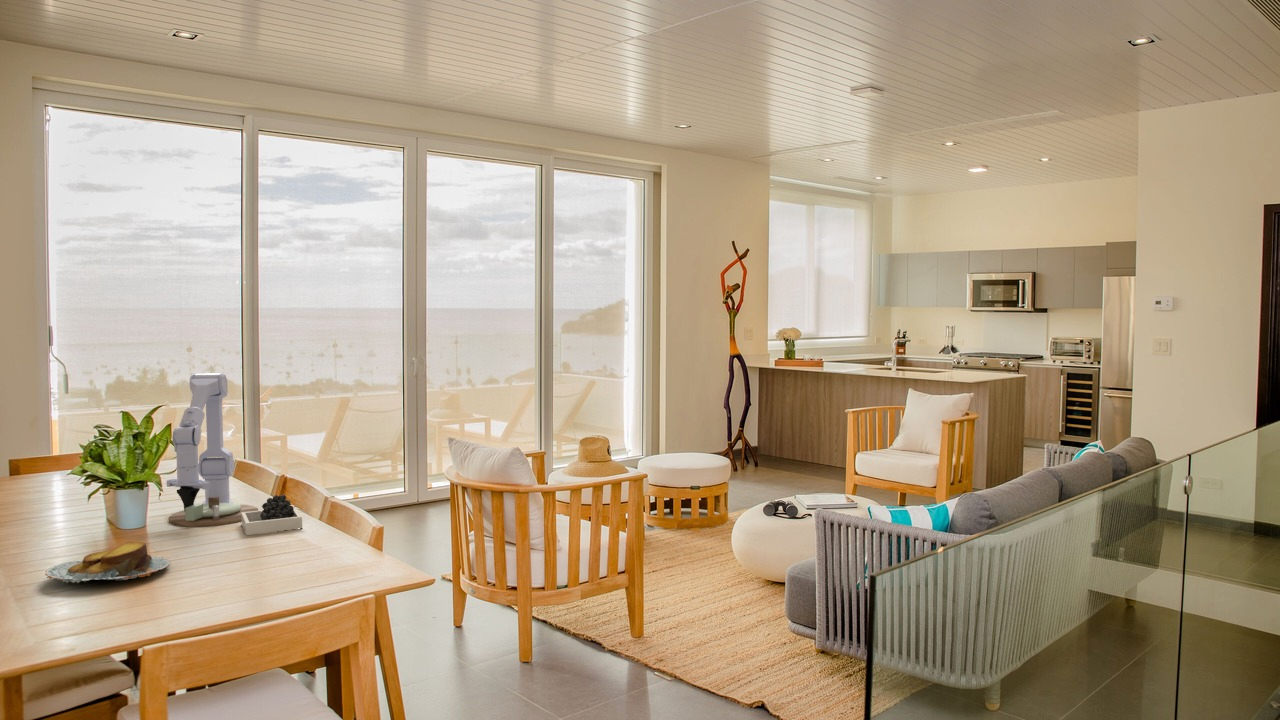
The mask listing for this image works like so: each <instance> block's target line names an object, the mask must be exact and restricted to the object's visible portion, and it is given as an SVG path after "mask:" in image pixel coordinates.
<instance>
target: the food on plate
mask: <svg viewBox="0 0 1280 720" xmlns="http://www.w3.org/2000/svg"><path fill="white" fill-rule="evenodd" d="M170 565H171V561H170V560H169V559H167V558H164V557H158V556H153V555H152V556H151V555H150V554H148V549H147V543H145V542H143V541H127V542H125V543H122V544H121V545H119V546H117V547H116V548H114V549H112V550H103V551H97V552H93V553H89V554H87V555H85V556H84V557H83V559H81V560H76V559H75V560H72V561H65V562H62V563H59V564H55V565H53V566H50V567H49V568H48V569H46V570H45V574H44V575H45V576H47V577H46V578H47V579H48V578H49V579H53V580H55V579H56V580H59V581H62V582H63V583H65V582H66V584H68V583H73V584H74V583H77V584H79V583H80V582H84V583H86V582H87V581H90V580H95V581H97V580H98V581H99V580H106V581H109V580H111V581H113V580H114V581H117V582H118V581H126V580H129V579H131V580H132V579H137V578H143V577H146V576H147V577H150V576H151V574H152V573H157V572H158V571H161V570H164V569H165V568H167V567H169V566H170ZM149 568H150V569H151V570H150V571H148V569H149Z"/></svg>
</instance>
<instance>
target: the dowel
mask: <svg viewBox="0 0 1280 720" xmlns="http://www.w3.org/2000/svg"><path fill="white" fill-rule="evenodd" d="M212 509H213V521H217V520H220V518H219V505H216V506H212Z"/></svg>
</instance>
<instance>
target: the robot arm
mask: <svg viewBox="0 0 1280 720" xmlns="http://www.w3.org/2000/svg"><path fill="white" fill-rule="evenodd" d="M189 390H191V391H190V392H191V395H192V396H191V401H190V405H189V407H187V408H186V409H185V410H184V412H183V414H182V417H181V418H180V423H179V425H178V426H177V427H176V428H174V429H173V431H172V438H171V439H172V443H173V447H174V449H173V450H174V452H175V453H176V454H175V455H176V475H177V477H176V479H175V478H171V479H167V480H166V487H169V488H170V487H175V488H176V487H177V488H178V489H176V494H177V495H178V496H179V498H180V499H181V501H182V504H183V510H184V511H185V508H186V507H189V506H192V505H195V500H196V497H197V495H198V493H199V492H200V490H201V489H202V490H204V497H205V498H204V500H203V502H202V503H203V505H204V504H209V503H208V498H209V497H215V496H217V497H219V503H232V500H231V498H230V477H231V476H232V475H233V474H234V472H235V460H234V454H233V452H232V451H230V450H229V449H227V448H226V447H224V428H223V427H224V426H223V425H224V423H223V421H224V420H223V419H224V418H223V399H224V398H226V397H228V393H229V392H228V391H229V390H228V378H227V375H226V374H225V373H224V372H220V373H218V372H217V373H216V372H215V373H195V372H194V373H192V374H191V376H190V377H189ZM204 408H205V412H204V411H203V410H204ZM204 419H206V420H205V422H206V449H205V450H204V451H202V452H201V453H200V454H199V445H200V442H201V441H202V440H201V437H202V436H201V435H202V425H203V421H204ZM199 476H200V477H201V478H202V479H203V480H202V479H200V478H199Z"/></svg>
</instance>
